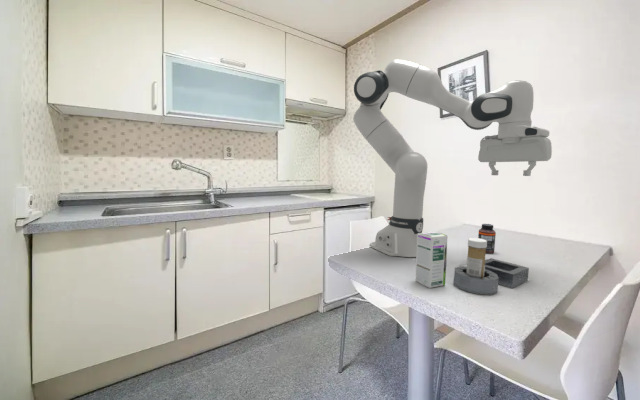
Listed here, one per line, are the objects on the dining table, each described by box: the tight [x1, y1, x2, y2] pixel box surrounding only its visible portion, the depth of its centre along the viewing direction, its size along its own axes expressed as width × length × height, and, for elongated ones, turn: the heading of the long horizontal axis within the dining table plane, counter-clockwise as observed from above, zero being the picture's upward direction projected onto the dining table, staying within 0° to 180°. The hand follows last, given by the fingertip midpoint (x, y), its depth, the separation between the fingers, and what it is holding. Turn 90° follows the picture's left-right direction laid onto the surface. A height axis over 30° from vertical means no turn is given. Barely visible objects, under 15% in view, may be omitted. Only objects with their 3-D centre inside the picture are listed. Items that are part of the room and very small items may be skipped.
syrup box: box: [415, 231, 448, 289], centre depth 78 cm, size 6×6×14 cm
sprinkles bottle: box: [466, 237, 487, 277], centre depth 76 cm, size 5×5×13 cm
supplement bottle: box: [477, 223, 497, 254], centre depth 111 cm, size 6×6×11 cm
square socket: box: [485, 258, 530, 289], centre depth 83 cm, size 10×10×4 cm
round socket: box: [453, 265, 499, 296], centre depth 76 cm, size 10×10×4 cm
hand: (510, 175), depth 91 cm, fingers open, 8 cm apart
